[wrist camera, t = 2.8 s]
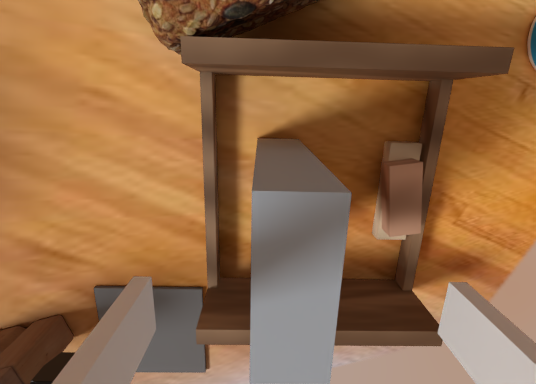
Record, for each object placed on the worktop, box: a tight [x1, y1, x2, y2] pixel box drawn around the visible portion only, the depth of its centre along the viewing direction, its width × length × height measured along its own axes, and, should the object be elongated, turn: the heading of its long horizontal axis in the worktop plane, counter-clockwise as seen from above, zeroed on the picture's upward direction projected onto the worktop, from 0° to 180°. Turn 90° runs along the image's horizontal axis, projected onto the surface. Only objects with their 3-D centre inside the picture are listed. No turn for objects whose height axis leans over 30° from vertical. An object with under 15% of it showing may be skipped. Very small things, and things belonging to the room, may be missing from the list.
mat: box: [94, 286, 206, 372], centre depth 35 cm, size 12×12×1 cm
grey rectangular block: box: [250, 138, 352, 384], centre depth 22 cm, size 10×4×18 cm, turn 178°
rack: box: [180, 36, 514, 346], centre depth 27 cm, size 25×22×8 cm
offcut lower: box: [372, 141, 422, 240], centre depth 30 cm, size 10×3×2 cm, turn 178°
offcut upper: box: [381, 158, 423, 237], centre depth 29 cm, size 7×3×2 cm, turn 7°
